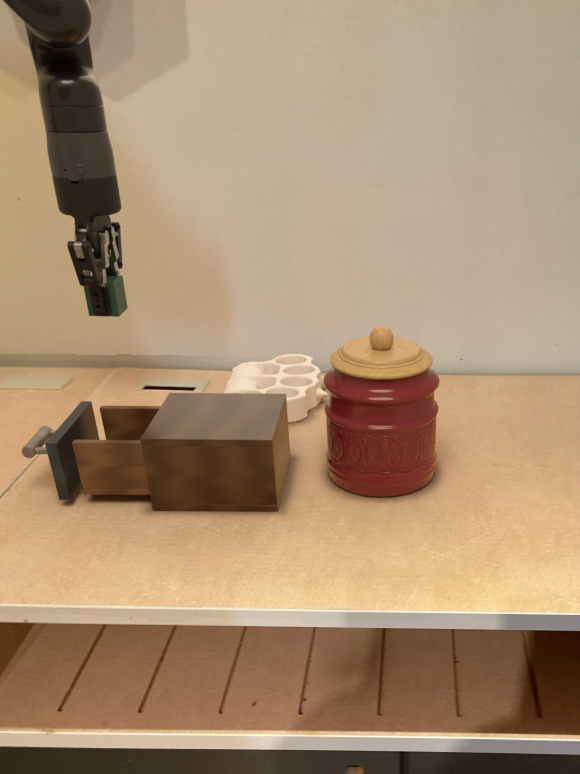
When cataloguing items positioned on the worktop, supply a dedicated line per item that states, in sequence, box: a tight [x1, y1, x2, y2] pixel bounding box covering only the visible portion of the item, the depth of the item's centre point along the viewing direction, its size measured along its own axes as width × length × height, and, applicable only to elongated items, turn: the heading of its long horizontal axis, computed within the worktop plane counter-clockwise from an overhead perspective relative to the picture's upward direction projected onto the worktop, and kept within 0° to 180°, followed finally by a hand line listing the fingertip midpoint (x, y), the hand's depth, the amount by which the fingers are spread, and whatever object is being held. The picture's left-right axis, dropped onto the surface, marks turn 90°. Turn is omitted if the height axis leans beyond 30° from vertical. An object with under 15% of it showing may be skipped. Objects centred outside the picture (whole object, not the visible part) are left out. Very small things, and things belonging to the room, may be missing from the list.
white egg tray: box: [223, 353, 329, 424], centre depth 113 cm, size 3×18×15 cm
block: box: [83, 274, 129, 318], centre depth 105 cm, size 4×4×4 cm
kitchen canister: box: [323, 325, 441, 497], centre depth 90 cm, size 13×13×18 cm
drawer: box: [21, 400, 161, 501], centre depth 89 cm, size 17×11×7 cm
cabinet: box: [140, 392, 292, 512], centre depth 89 cm, size 14×13×9 cm
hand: (108, 309), depth 106 cm, fingers closed on block, 4 cm apart
